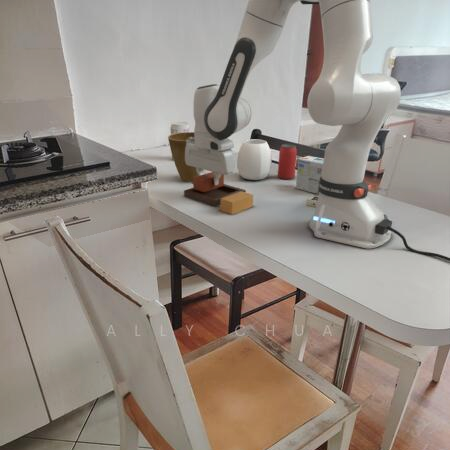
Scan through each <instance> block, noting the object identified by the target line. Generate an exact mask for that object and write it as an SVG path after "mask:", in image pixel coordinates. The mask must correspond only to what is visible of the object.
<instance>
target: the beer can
mask: <svg viewBox="0 0 450 450" xmlns="http://www.w3.org/2000/svg"><path fill="white" fill-rule="evenodd" d="M297 155H298V150H297V145H296V144H292V143H284V144H281V145H280V149H279V153H278V166H277V167H278V169H277V177H278V178H279V179H281V180H292V179H294V178H295V177H296V168H297V167H296V166H297Z"/></svg>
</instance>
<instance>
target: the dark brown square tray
mask: <svg viewBox="0 0 450 450" xmlns="http://www.w3.org/2000/svg"><path fill="white" fill-rule="evenodd" d="M241 191H242V192H246V189H244V188H240V187H237V186H233V185H229V184H225V183H224V186H221V187H218V188H215V189H212V190H209V191H206V192H201V191H198V190H195V189H193V187H191V188H188V189H183V197H185V198H188V199H190V200H193V201H197V202H200V203H203V204H206V205H209V206H212V207H214V208H216V207H220V206H221V204H220V199H221V198H223V197H226V196H229V195H232V194H235V193H238V192H241ZM246 193H247V192H246Z"/></svg>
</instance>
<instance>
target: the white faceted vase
mask: <svg viewBox="0 0 450 450" xmlns="http://www.w3.org/2000/svg"><path fill="white" fill-rule="evenodd" d="M272 157H273V155H272V151H271V148H270V145H269V144H268V142H267V140H264V139H258V138H257V139H256V138H255V139H252V138H251V139H245V140H244V141H243V142H242V143H241V146H240V148H239V150H238V154H237V158H236V159H237V160H236V169H237V171H238V174H239V175H240V176H241V177H242V179H245V180H249V181H260V180H264V179H265V178H267V177H268V176H269V174H270V172H271V170H272V162H273V161H272V160H273V159H272Z"/></svg>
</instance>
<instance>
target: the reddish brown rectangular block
mask: <svg viewBox="0 0 450 450" xmlns="http://www.w3.org/2000/svg"><path fill="white" fill-rule="evenodd" d="M214 178H215V175H214V172H212V171H209V172H207V173H203V175H200V176H196V177H193V182H192V188H193V189H195V190H198V191H201V192H206V191H209V190H212V189H215V188H218V187H221V186H224V184H225V181H224V180H225V175H224V174H221V176H220V178H219V184H218V185H213V184H212V179H214Z"/></svg>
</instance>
